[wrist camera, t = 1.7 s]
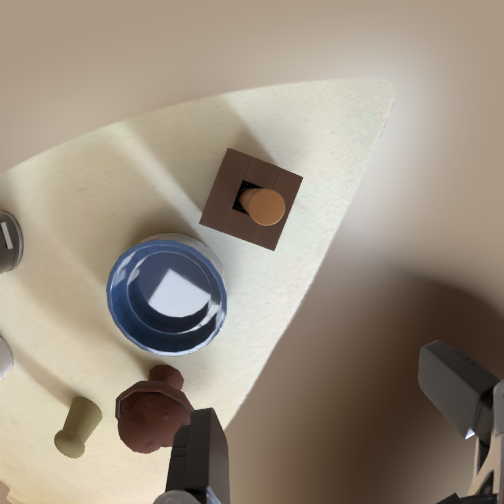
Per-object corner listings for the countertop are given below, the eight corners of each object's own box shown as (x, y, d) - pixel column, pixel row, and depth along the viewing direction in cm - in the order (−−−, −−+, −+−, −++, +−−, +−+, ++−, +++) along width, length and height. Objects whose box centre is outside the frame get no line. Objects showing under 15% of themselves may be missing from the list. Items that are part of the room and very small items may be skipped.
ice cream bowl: (154, 411, 43) (136, 479, 29) (119, 358, 41) (84, 422, 26) (212, 397, 43) (210, 470, 29) (181, 340, 41) (163, 408, 26)
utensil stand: (204, 216, 38) (198, 223, 30) (228, 155, 36) (228, 147, 29) (264, 238, 39) (274, 251, 31) (288, 179, 38) (303, 177, 30)
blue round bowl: (113, 312, 39) (97, 331, 33) (138, 216, 37) (123, 221, 31) (207, 347, 41) (204, 370, 36) (242, 254, 39) (245, 266, 33)
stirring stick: (235, 202, 38) (242, 218, 18) (241, 185, 37) (256, 183, 18) (251, 208, 38) (277, 230, 18) (258, 192, 38) (290, 196, 18)
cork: (108, 415, 43) (89, 458, 32) (91, 426, 43) (72, 466, 33) (82, 392, 42) (58, 433, 31) (67, 405, 42) (43, 443, 31)
